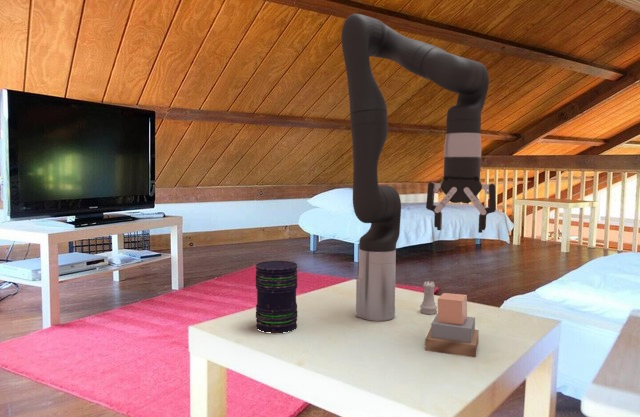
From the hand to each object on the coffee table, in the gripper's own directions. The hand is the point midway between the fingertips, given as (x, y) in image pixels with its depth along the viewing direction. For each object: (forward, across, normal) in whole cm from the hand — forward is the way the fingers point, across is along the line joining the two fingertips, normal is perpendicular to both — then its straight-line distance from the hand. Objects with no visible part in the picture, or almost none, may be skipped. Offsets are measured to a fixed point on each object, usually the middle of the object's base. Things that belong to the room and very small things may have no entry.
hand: (459, 231), depth 104 cm
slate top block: (+22, 0, -4) cm, 22 cm away
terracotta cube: (+19, 0, -4) cm, 19 cm away
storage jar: (+25, -40, -7) cm, 48 cm away
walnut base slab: (+25, 0, -4) cm, 25 cm away
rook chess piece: (+24, -9, +19) cm, 32 cm away
